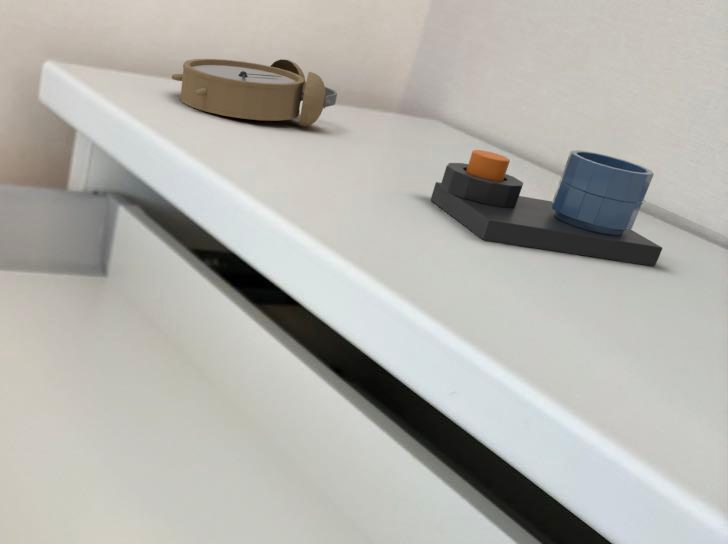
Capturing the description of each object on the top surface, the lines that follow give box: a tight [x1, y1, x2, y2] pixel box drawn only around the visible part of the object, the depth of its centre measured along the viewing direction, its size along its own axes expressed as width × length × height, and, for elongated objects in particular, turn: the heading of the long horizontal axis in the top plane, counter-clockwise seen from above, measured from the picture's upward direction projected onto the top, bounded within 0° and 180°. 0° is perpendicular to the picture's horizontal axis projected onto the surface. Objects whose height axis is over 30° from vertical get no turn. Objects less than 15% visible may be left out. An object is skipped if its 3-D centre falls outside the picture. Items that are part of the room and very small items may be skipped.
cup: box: [552, 149, 655, 235], centre depth 80 cm, size 6×6×4 cm
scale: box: [430, 162, 663, 267], centre depth 81 cm, size 14×10×3 cm
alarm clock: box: [171, 58, 338, 127], centre depth 102 cm, size 11×5×15 cm
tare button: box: [466, 149, 511, 181], centre depth 81 cm, size 3×3×2 cm
